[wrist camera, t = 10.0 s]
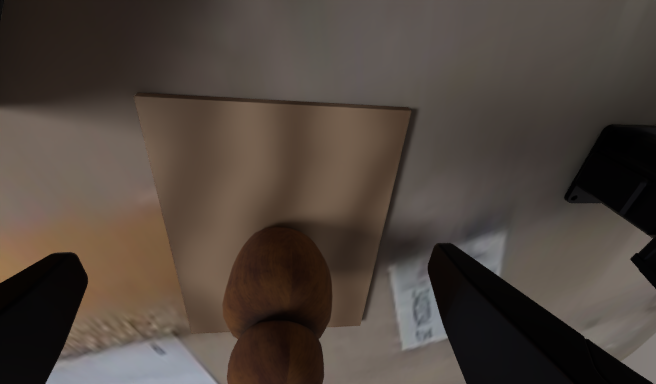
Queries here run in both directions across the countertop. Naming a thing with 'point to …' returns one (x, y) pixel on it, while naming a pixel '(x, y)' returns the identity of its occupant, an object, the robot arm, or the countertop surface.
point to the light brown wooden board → (270, 187)
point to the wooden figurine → (278, 309)
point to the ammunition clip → (1, 7)
